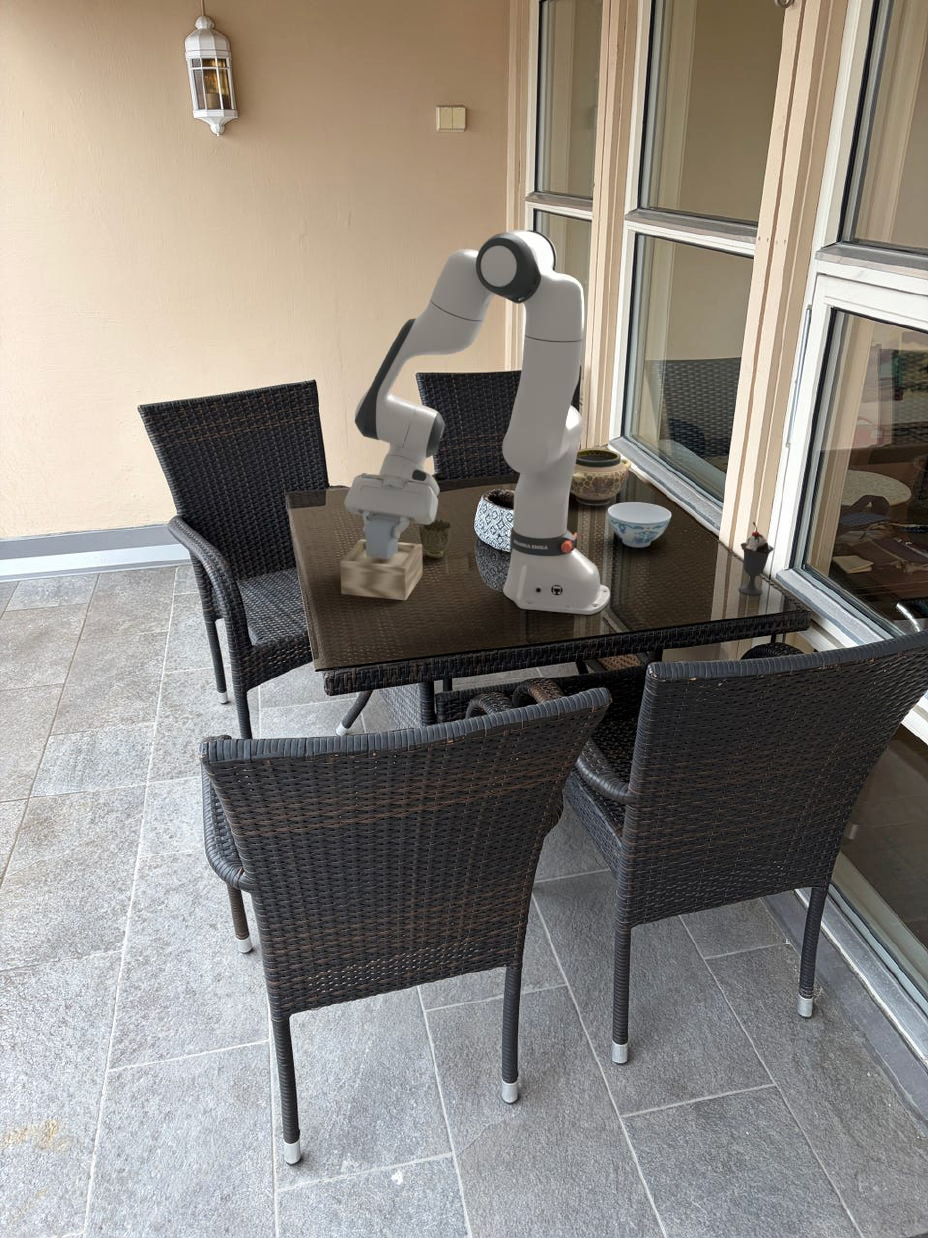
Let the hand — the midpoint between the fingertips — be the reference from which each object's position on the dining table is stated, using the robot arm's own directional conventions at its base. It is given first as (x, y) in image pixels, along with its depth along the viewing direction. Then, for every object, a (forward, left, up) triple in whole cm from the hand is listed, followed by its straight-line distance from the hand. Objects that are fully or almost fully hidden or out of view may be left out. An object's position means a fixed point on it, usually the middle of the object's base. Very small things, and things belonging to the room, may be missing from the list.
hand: (380, 535), depth 196 cm
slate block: (0, -1, -4) cm, 4 cm away
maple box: (0, -1, -12) cm, 12 cm away
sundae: (-74, -29, -12) cm, 80 cm away
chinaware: (-45, -48, -12) cm, 67 cm away
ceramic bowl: (-27, -75, -12) cm, 80 cm away
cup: (-4, -20, -12) cm, 23 cm away
